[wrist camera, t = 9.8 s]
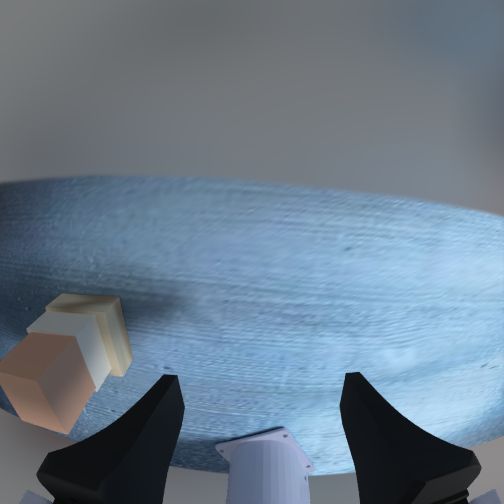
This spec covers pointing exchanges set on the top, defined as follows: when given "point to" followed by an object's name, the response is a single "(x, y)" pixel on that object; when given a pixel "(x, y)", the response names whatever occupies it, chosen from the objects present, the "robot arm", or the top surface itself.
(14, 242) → the top surface
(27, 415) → the terracotta block
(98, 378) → the tower top slab
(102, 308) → the tower base slab
